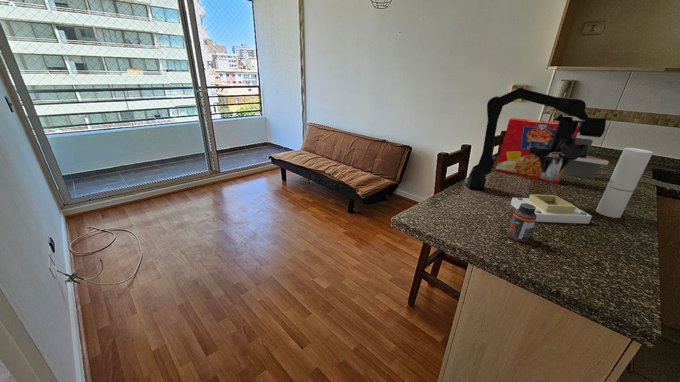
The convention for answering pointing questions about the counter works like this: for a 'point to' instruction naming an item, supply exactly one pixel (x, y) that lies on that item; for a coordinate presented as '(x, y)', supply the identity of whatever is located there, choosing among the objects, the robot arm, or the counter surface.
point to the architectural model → (584, 163)
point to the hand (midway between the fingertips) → (550, 172)
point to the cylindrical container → (623, 181)
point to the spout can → (553, 168)
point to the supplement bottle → (522, 222)
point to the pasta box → (526, 148)
